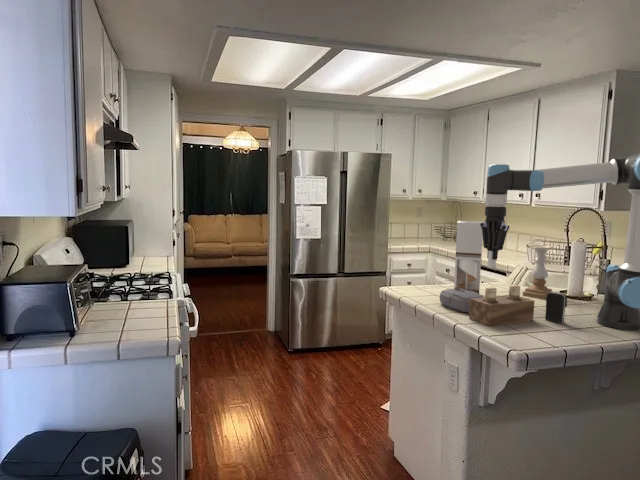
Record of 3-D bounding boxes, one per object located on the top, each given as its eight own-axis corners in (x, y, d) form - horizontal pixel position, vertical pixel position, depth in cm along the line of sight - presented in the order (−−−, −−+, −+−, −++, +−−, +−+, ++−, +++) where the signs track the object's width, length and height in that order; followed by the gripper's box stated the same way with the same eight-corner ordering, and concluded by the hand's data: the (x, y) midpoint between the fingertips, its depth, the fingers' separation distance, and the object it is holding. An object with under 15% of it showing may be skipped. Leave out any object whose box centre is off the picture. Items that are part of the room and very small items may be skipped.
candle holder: (530, 292, 239) (534, 244, 236) (554, 295, 232) (557, 246, 229) (522, 295, 231) (525, 246, 229) (545, 299, 224) (549, 248, 221)
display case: (453, 296, 226) (457, 222, 222) (454, 292, 236) (458, 220, 232) (479, 299, 223) (483, 223, 219) (479, 294, 233) (483, 221, 229)
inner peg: (521, 302, 189) (522, 286, 189) (513, 303, 188) (514, 287, 187) (513, 300, 193) (514, 284, 192) (506, 301, 192) (507, 285, 191)
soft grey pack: (434, 304, 212) (466, 316, 194) (435, 286, 211) (467, 296, 193) (461, 301, 218) (494, 312, 200) (462, 283, 217) (495, 292, 199)
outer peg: (497, 305, 185) (498, 289, 184) (489, 306, 183) (490, 289, 182) (490, 302, 188) (491, 286, 188) (482, 303, 187) (483, 287, 186)
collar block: (533, 320, 188) (534, 300, 187) (489, 326, 180) (490, 305, 179) (511, 313, 198) (513, 294, 197) (469, 318, 190) (470, 298, 189)
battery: (566, 322, 187) (569, 293, 185) (561, 324, 184) (564, 294, 183) (549, 318, 192) (551, 290, 191) (544, 319, 190) (546, 291, 188)
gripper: (516, 206, 177) (511, 270, 180) (491, 204, 189) (487, 264, 192) (500, 206, 174) (496, 271, 177) (476, 204, 186) (472, 265, 189)
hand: (491, 267), depth 184 cm, fingers closed
